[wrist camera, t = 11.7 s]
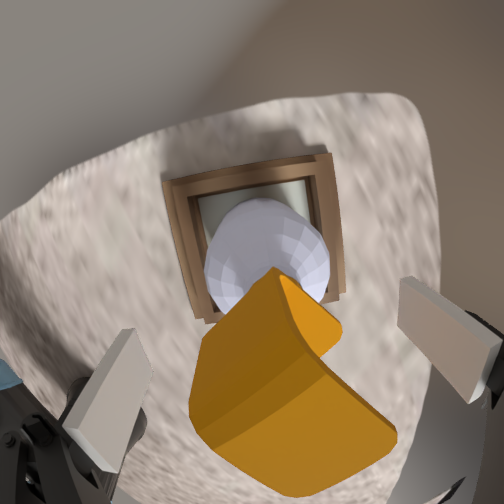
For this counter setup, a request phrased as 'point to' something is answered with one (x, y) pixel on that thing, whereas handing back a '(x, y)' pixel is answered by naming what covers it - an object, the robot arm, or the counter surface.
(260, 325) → the orange capped white bottle
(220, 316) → the picture frame
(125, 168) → the counter surface
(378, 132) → the counter surface
